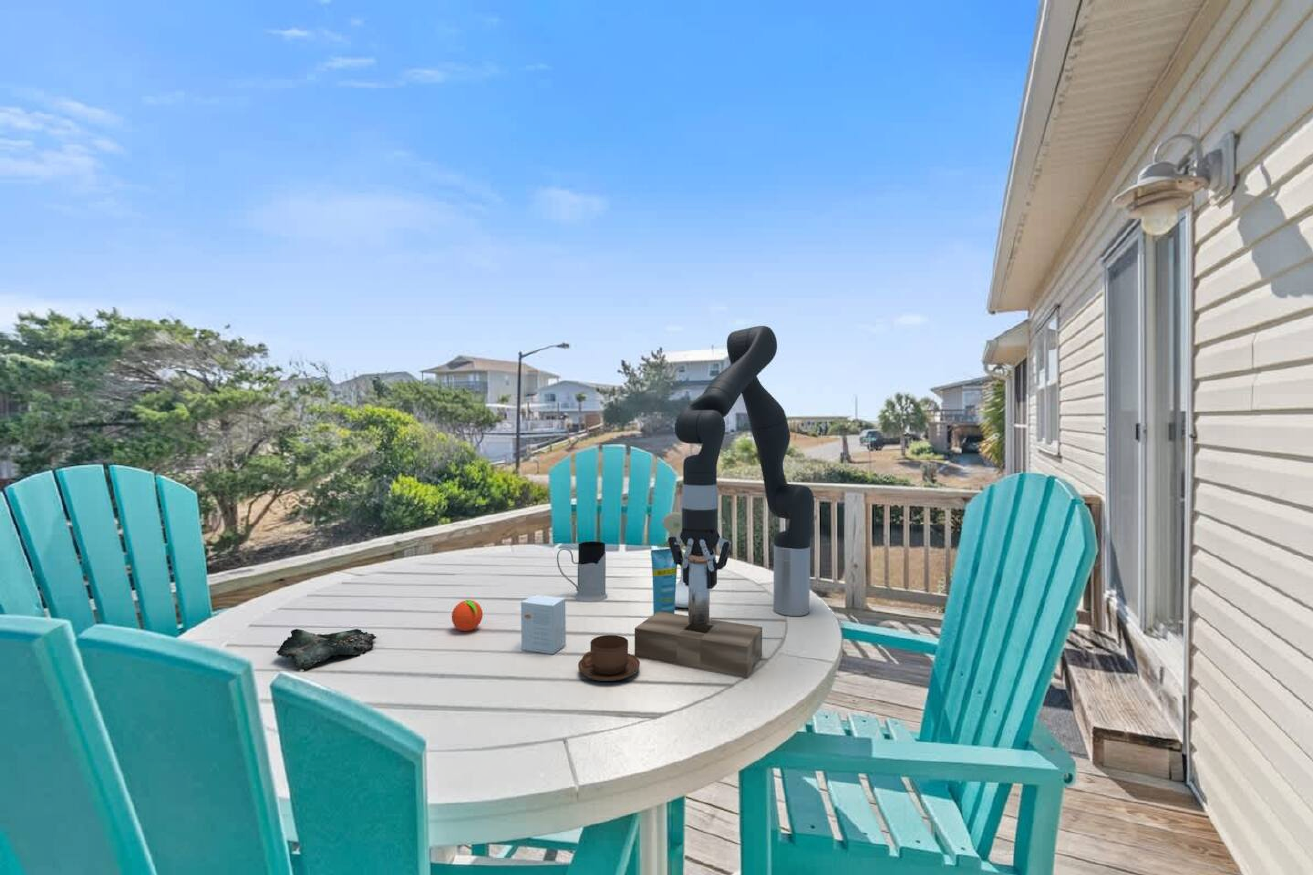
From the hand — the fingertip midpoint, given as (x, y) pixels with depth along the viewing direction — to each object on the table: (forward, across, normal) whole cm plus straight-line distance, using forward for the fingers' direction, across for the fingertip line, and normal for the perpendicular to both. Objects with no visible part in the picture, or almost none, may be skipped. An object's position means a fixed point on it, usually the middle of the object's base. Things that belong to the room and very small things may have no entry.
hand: (699, 586), depth 118 cm
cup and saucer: (+15, +13, +16) cm, 25 cm away
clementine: (+15, +54, +10) cm, 57 cm away
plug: (+7, 0, +1) cm, 7 cm away
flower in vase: (+15, +16, -30) cm, 38 cm away
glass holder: (+15, +44, -24) cm, 52 cm away
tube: (+15, +13, -11) cm, 23 cm away
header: (+15, 0, +1) cm, 15 cm away
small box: (+15, +32, +11) cm, 37 cm away
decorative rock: (+15, +71, +32) cm, 79 cm away
